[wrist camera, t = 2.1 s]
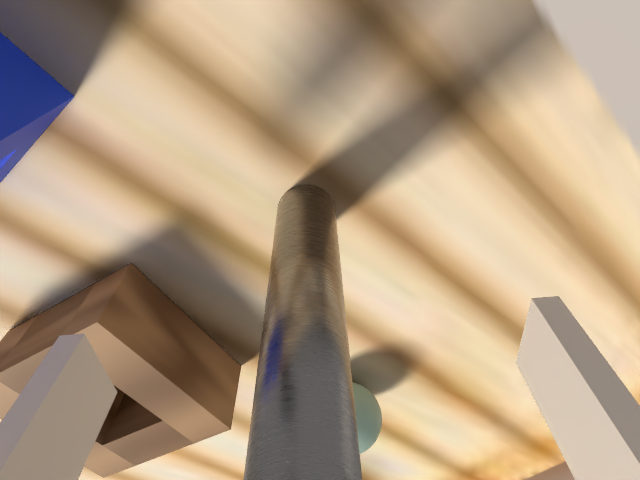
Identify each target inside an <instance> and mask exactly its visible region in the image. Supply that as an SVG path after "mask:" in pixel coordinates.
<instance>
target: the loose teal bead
mask: <svg viewBox="0 0 640 480" xmlns="http://www.w3.org/2000/svg"><path fill="white" fill-rule="evenodd" d="M352 384H353V394H354V404H355V414H356V424H357V434H358V444H359V454H360V453H362V452H364V451H366V450H367V449H369V448H370V447H371V446H372V445H373V444H374V442H375V441H376V439H377V438H378V436H379V433H380V430H381V425H382V415H381V409H380V406H379V404H378V402H377V400H376V398H375V397H374V395H373V394H372V393H371V392H370V391H369V390H368V389H367V388H365V387H364V386H362V385H360V384H357V383H354V382H352Z"/></svg>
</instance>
